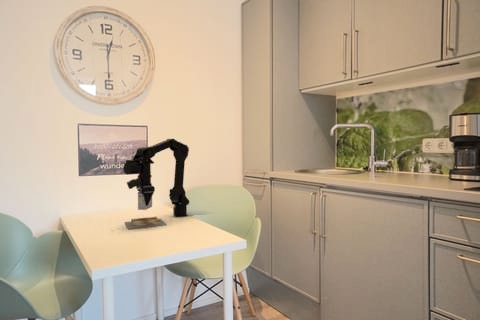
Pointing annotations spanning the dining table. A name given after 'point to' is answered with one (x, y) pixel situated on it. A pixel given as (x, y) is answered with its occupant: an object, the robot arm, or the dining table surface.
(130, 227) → the mat
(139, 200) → the medicine box
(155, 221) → the slot frame
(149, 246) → the dining table surface
